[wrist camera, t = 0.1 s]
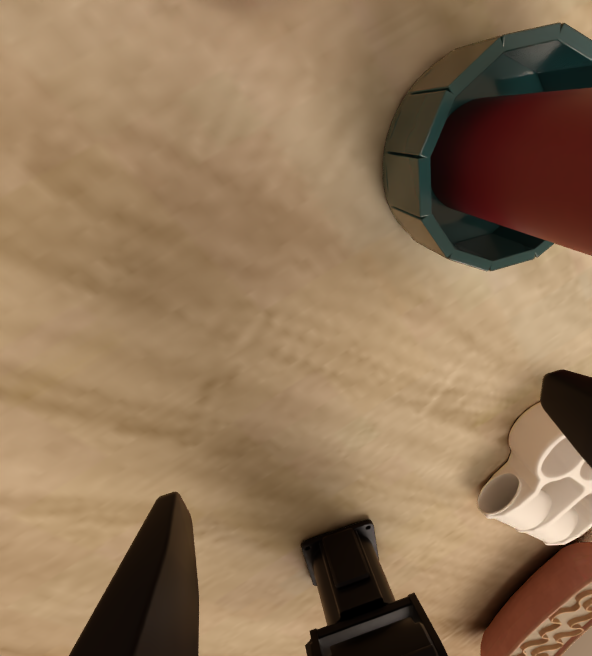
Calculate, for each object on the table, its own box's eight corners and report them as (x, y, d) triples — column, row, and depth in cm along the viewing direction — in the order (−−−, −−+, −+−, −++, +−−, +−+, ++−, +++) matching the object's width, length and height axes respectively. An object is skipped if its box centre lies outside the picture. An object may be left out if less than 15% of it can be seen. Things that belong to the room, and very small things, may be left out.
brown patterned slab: (502, 641, 53) (529, 686, 49) (446, 643, 50) (470, 692, 45) (615, 526, 45) (659, 569, 41) (558, 519, 42) (599, 565, 37)
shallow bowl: (541, 224, 25) (598, 241, 21) (389, 266, 24) (423, 291, 20) (564, 25, 20) (644, 3, 16) (373, 67, 19) (414, 54, 15)
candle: (517, 197, 23) (863, 277, 11) (428, 221, 22) (691, 332, 10) (526, 86, 20) (1002, 32, 8) (425, 110, 20) (777, 89, 8)
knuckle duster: (447, 484, 35) (575, 362, 31) (547, 533, 43) (659, 439, 39) (469, 517, 32) (613, 386, 28) (573, 563, 40) (696, 465, 36)
